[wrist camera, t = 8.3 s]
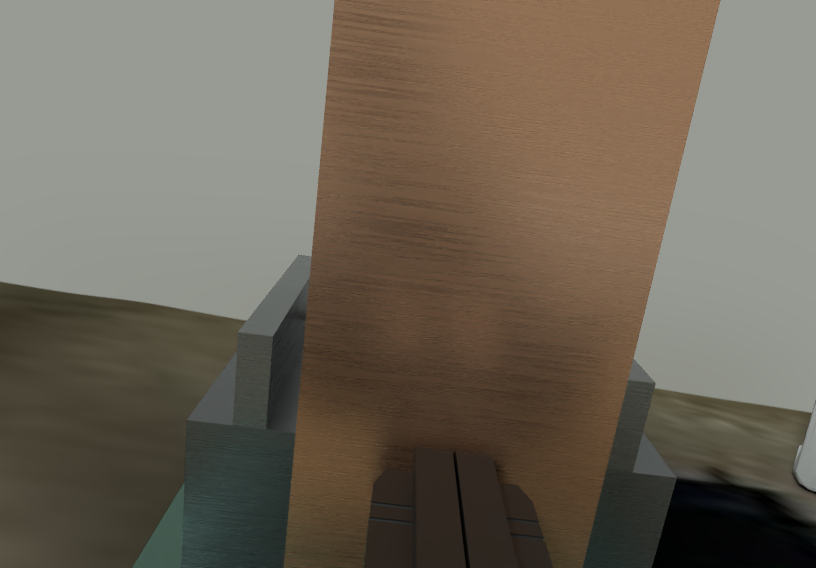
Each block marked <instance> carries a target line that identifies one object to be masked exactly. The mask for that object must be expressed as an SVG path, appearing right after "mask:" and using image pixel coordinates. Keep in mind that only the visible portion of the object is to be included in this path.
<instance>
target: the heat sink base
mask: <svg viewBox="0 0 816 568" xmlns="http://www.w3.org/2000/svg"><path fill="white" fill-rule="evenodd" d="M310 268H311V257H310V256H303V255H298V256H297V258H296V259H295V261H294V262H293V263H292V264H291V265H290V267H289V268H288V269H287V271H286V272H285V273H284V274H283V276H282V277H281V278H280V279H279V281H278V282H277V283H276V285H275V286H274V287H273V288H272V290H271V291H270V292H269V293H268V295H267V296H266V297H265V299H264V300H263V301H262V302H261V304H260V305H259V306H258V307H257V309H256V310H255V312H254V313H253V314H252V315H251V317H250V318H249V319H248V320H247V321H246V323H245V324H244V325H243V327H242V328H241V329H240V330H239V332H238V344H237V352H236V353H235V354H234V356H233V357H232V359H231V360H230V361H229V363H228V364H227V365H226V367H225V368H224V370H223V371H222V372H221V374H220V375H219V376H218V378H217V379H216V380H215V382H214V383H213V385H212V386H211V387H210V389H209V390H208V391H207V393H206V394H205V396H204V397H203V398H202V400H201V401H200V402H199V404H198V405H197V407H196V408H195V409H194V411H193V412H192V413H191V415H190V416H189V418H188V419H187V426H186V453H185V479H184V484H183V485H182V487H181V488H180V490H179V492H178V493H177V495H176V497H175V498H174V500H173V502H172V503H171V505H170V506H169V508H168V510H167V511H166V513H165V515H164V516H163V518H162V520H161V521H160V523H159V524H158V526H157V528H156V529H155V531H154V533H153V534H152V536H151V538H150V539H149V541H148V542H147V544H146V546H145V547H144V549H143V551H142V552H141V554H140V555H139V557H138V559H137V560H136V562H135V564H134V565H133V567H132V568H284V557H285V546H286V535H287V524H288V513H289V501H290V490H291V479H292V468H293V457H294V446H295V435H296V424H297V413H298V402H299V391H300V379H301V368H302V357H303V346H304V335H305V324H306V313H307V302H308V291H309V280H310ZM654 387H655V382H654V381H653V380H652V379H651V378H650V377H649V375H648V374H647V373H646V372H645V371H644V370H643V369H642V368H641V367H640V365H639V364H638V363H637V362H636V361H635V360H634V359H633V362H632V366H631V370H630V374H629V378H628V382H627V387H626V391H625V395H624V399H623V403H622V407H621V411H620V415H619V420H618V424H617V428H616V432H615V436H614V440H613V444H612V448H611V452H610V457H609V461H608V465H607V469H606V473H605V477H604V481H603V485H602V490H601V494H600V498H599V502H598V506H597V510H596V514H595V518H594V522H593V527H592V531H591V535H590V539H589V543H588V547H587V551H586V555H585V560H584V564H583V568H652V564H653V561H654V557H655V554H656V550H657V547H658V543H659V539H660V536H661V532H662V529H663V525H664V521H665V518H666V514H667V511H668V507H669V503H670V500H671V496H672V493H673V489H674V485H675V482H676V476H675V475H674V474H673V472H672V471H671V469H670V468H669V467H668V465H667V464H666V463H665V461H664V460H663V458H662V457H661V456H660V454H659V453H658V452H657V450H656V449H655V447H654V446H653V445H652V443H651V442H650V441H649V439H648V438H647V436H646V435H645V434H644V432H643V430H644V426H645V423H646V419H647V415H648V411H649V407H650V403H651V399H652V395H653V391H654Z"/></svg>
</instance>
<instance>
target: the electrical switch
mask: <svg viewBox="0 0 816 568" xmlns="http://www.w3.org/2000/svg"><path fill="white" fill-rule="evenodd" d="M793 472H794V475H795V477H796V479H797V480H798V482H799V483H800V484H801V485H803V486H805V487H806V488H807V489H810V490H812V491H815V492H816V401H815V405H814V408H813V412H812V415H811V418H810V422H809V425H808V429H807V432H806V436H805V439H804V443H803V445H799V449H798V452H797V456H796V459H795V463H794V466H793Z"/></svg>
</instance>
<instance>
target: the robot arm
mask: <svg viewBox="0 0 816 568" xmlns="http://www.w3.org/2000/svg"><path fill="white" fill-rule="evenodd" d="M363 568H553V566H552V562H551V559H550V556H549V553H548V549H547V546H546V543H545V541H544V536H543V533H542V530H541V527H540V525H539V520H538V517H537V513H536V510H535V507H534V504H533V502H532V500H531V499H530V498H529V497H528V496H527V495H526V494H525V493H524V492H523V490H522V489H521V488H520V487H519V486H518V485H517V484H509V483H500V482H498V478H497V474H496V469H495V465H494V460H493V457H492V455H486V454H478V453H469V452H461V451H454V453H453V452H452V450H444V449H436V448H427V447H419V446H415V449H414V454H413V461H412V467H411V472H408V471H400V470H391V469H385V471H384V472H383V473H382V474H381V475H380V476H379V477H378V478H377V480H376V481H375V482H374V483H373V490H372V498H371V505H370V513H369V520H368V528H367V536H366V543H365V551H364V560H363Z"/></svg>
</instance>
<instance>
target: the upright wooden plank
mask: <svg viewBox="0 0 816 568" xmlns="http://www.w3.org/2000/svg"><path fill="white" fill-rule="evenodd" d="M719 4H720V0H335V3H334V13H333V25H332V36H331V47H330V59H329V69H328V81H327V91H326V102H325V114H324V124H323V136H322V147H321V159H320V169H319V180H318V191H317V202H316V213H315V226H314V235H313V246H312V257H311V268H310V280H309V291H308V302H307V313H306V324H305V335H304V346H303V357H302V368H301V379H300V391H299V402H298V413H297V424H296V435H295V446H294V457H293V468H292V479H291V490H290V501H289V513H288V524H287V535H286V546H285V557H284V568H363V560H364V551H365V543H366V536H367V528H368V520H369V513H370V505H371V498H372V490H373V483H374V482H375V481H376V480H377V478H378V477H379V476H380V475H381V474H382V473H383V472H384V471H385V469H391V470H400V471H408V472H411V467H412V461H413V454H414V449H415V446H419V447H427V448H436V449H444V450H452V452H453V453H454V451H461V452H469V453H478V454H486V455H492V457H493V460H494V465H495V469H496V474H497V478H498V482H500V483H509V484H517V485H518V486H519V487H520V488H521V489H522V490H523V492H524V493H525V494H526V495H527V496H528V497H529V498H530V499H531V500H532V502H533V504H534V507H535V510H536V513H537V517H538V520H539V525H540V527H541V530H542V533H543V536H544V541H545V543H546V546H547V549H548V553H549V556H550V559H551V562H552V566H553V568H583V564H584V560H585V555H586V551H587V547H588V543H589V539H590V535H591V531H592V527H593V522H594V518H595V514H596V510H597V506H598V502H599V498H600V494H601V490H602V485H603V481H604V477H605V473H606V469H607V465H608V461H609V457H610V452H611V448H612V444H613V440H614V436H615V432H616V428H617V424H618V420H619V415H620V411H621V407H622V403H623V399H624V395H625V391H626V387H627V382H628V378H629V374H630V370H631V366H632V362H633V358H634V354H635V350H636V345H637V341H638V337H639V333H640V328H641V325H642V321H643V316H644V312H645V308H646V304H647V300H648V296H649V291H650V288H651V284H652V280H653V275H654V271H655V267H656V263H657V259H658V255H659V251H660V246H661V242H662V238H663V234H664V230H665V226H666V222H667V218H668V214H669V209H670V205H671V201H672V197H673V193H674V189H675V185H676V181H677V177H678V172H679V168H680V164H681V160H682V156H683V151H684V148H685V144H686V140H687V135H688V131H689V127H690V123H691V119H692V115H693V111H694V106H695V102H696V98H697V94H698V90H699V86H700V82H701V78H702V73H703V70H704V65H705V61H706V57H707V53H708V49H709V45H710V41H711V36H712V33H713V28H714V24H715V20H716V16H717V12H718V8H719Z"/></svg>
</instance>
